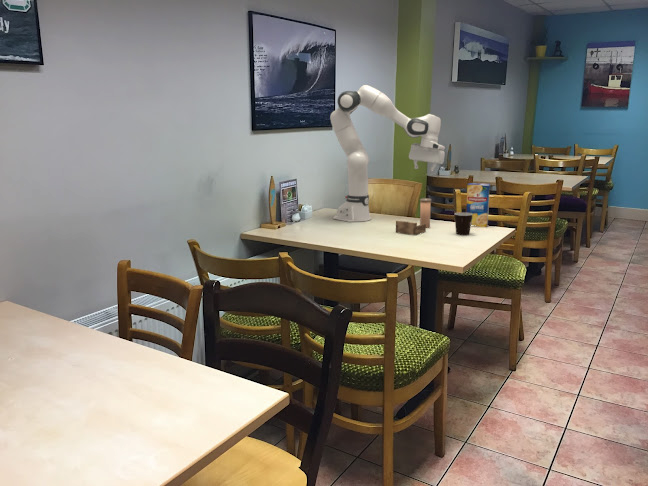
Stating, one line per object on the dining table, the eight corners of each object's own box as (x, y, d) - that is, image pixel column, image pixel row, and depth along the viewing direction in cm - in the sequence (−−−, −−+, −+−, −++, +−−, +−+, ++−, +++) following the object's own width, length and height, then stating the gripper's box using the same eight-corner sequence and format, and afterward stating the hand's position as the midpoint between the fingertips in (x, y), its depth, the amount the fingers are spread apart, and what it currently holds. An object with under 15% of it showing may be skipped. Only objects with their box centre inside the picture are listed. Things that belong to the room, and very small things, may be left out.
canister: (417, 227, 286) (418, 199, 282) (422, 225, 290) (423, 198, 286) (427, 228, 282) (427, 200, 279) (432, 227, 286) (433, 198, 283)
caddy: (395, 232, 275) (395, 220, 273) (406, 229, 282) (406, 217, 281) (415, 235, 268) (415, 223, 266) (425, 231, 275) (425, 220, 274)
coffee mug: (459, 231, 275) (460, 211, 272) (474, 233, 269) (475, 213, 266) (447, 235, 267) (447, 215, 265) (462, 237, 261) (463, 217, 259)
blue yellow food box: (487, 227, 283) (489, 185, 278) (465, 226, 287) (467, 184, 282) (487, 224, 290) (490, 183, 285) (466, 223, 293) (468, 183, 288)
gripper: (409, 141, 298) (404, 166, 301) (442, 146, 286) (437, 172, 289) (414, 143, 303) (409, 167, 306) (447, 147, 292) (442, 173, 294)
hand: (423, 170), depth 297 cm, fingers open, 8 cm apart
